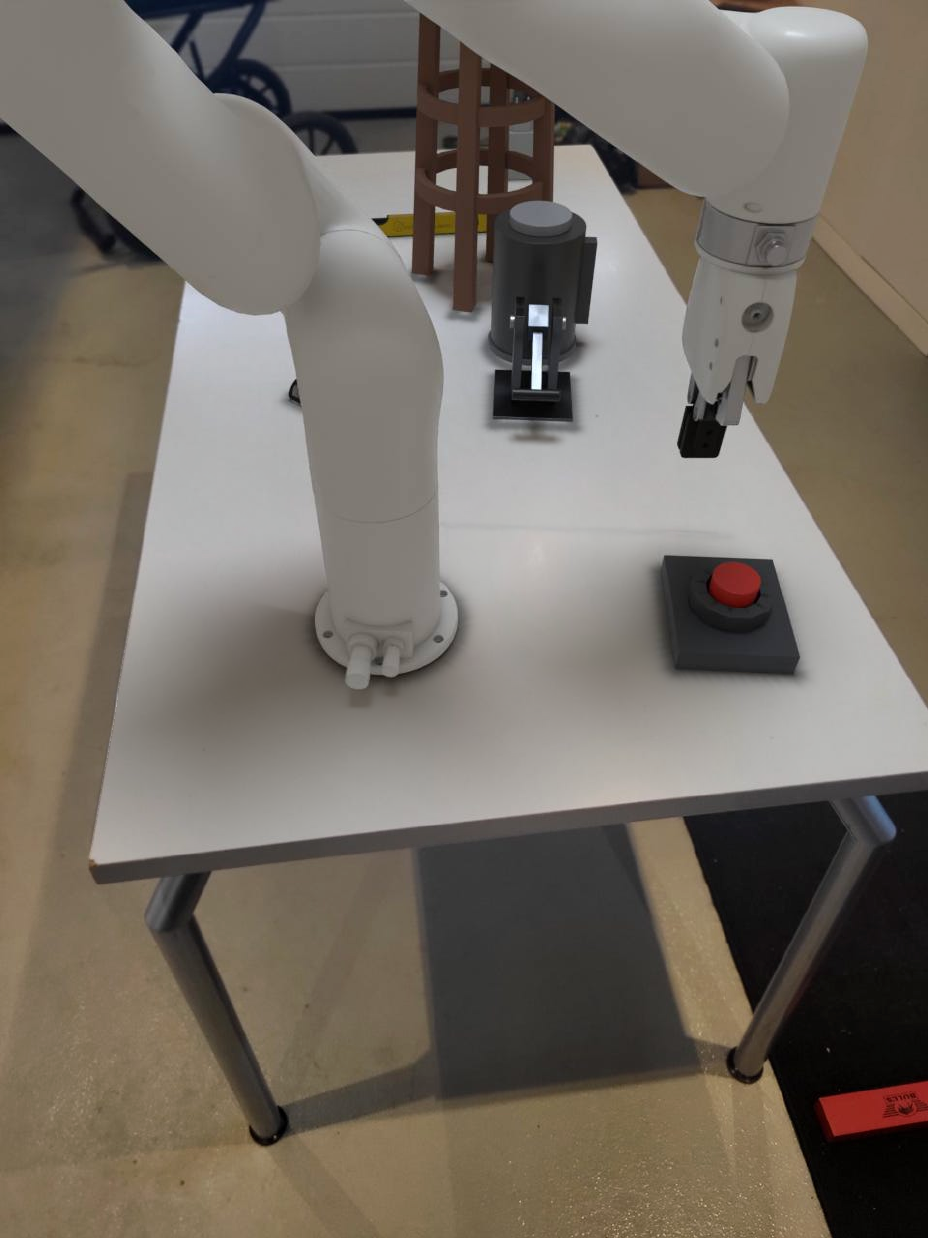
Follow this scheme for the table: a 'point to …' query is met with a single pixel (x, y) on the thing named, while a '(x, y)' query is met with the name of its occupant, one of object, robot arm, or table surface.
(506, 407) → the switch bracket
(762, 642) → the power block
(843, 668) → the table surface
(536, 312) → the kettle switch
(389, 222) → the spirit level
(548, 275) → the kettle
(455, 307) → the stool
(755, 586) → the power button
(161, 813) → the table surface
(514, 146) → the power adapter
